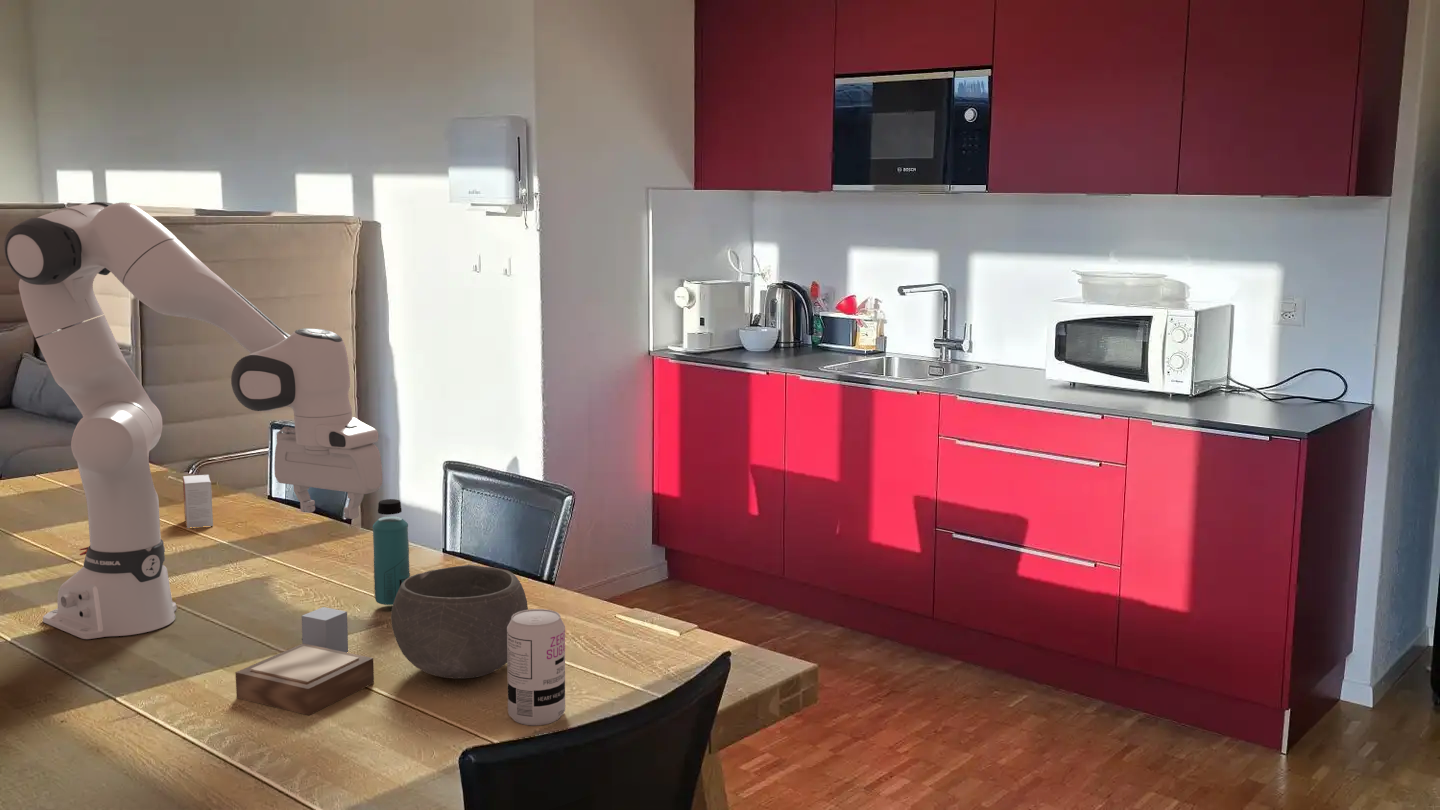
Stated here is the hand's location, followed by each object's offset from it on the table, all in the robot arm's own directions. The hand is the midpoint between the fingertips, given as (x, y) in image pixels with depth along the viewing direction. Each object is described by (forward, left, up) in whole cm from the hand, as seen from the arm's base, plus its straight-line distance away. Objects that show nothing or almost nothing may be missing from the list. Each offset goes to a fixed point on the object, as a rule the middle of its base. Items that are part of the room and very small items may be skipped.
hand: (329, 514), depth 205 cm
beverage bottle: (-6, +22, -23) cm, 33 cm away
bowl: (+24, +2, -23) cm, 33 cm away
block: (0, -2, -23) cm, 23 cm away
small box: (-82, +48, -23) cm, 98 cm away
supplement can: (+44, -7, -23) cm, 50 cm away
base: (+8, -15, -23) cm, 28 cm away
